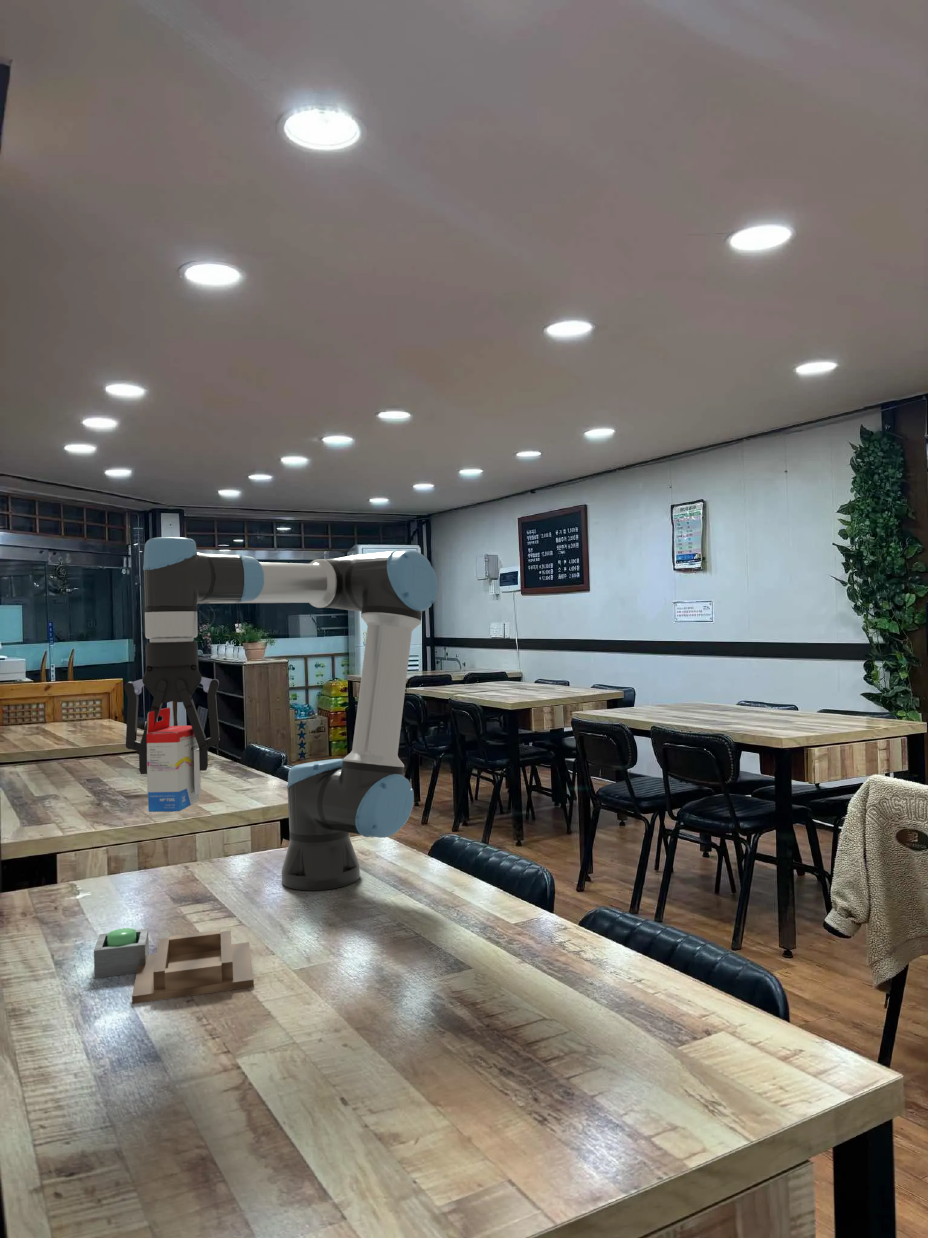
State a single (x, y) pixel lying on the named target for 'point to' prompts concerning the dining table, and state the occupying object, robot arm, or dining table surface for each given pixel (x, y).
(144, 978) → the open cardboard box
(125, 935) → the button
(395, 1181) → the dining table surface
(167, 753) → the ink box
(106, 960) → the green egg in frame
